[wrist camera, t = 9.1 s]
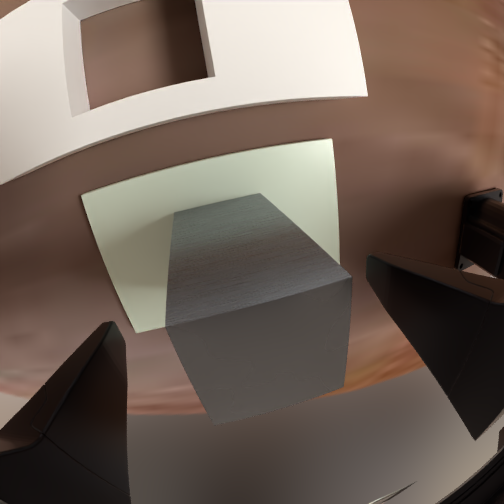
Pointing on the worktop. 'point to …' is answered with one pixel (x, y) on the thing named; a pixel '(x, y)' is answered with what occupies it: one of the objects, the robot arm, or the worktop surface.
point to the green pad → (198, 194)
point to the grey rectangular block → (254, 309)
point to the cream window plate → (171, 97)
